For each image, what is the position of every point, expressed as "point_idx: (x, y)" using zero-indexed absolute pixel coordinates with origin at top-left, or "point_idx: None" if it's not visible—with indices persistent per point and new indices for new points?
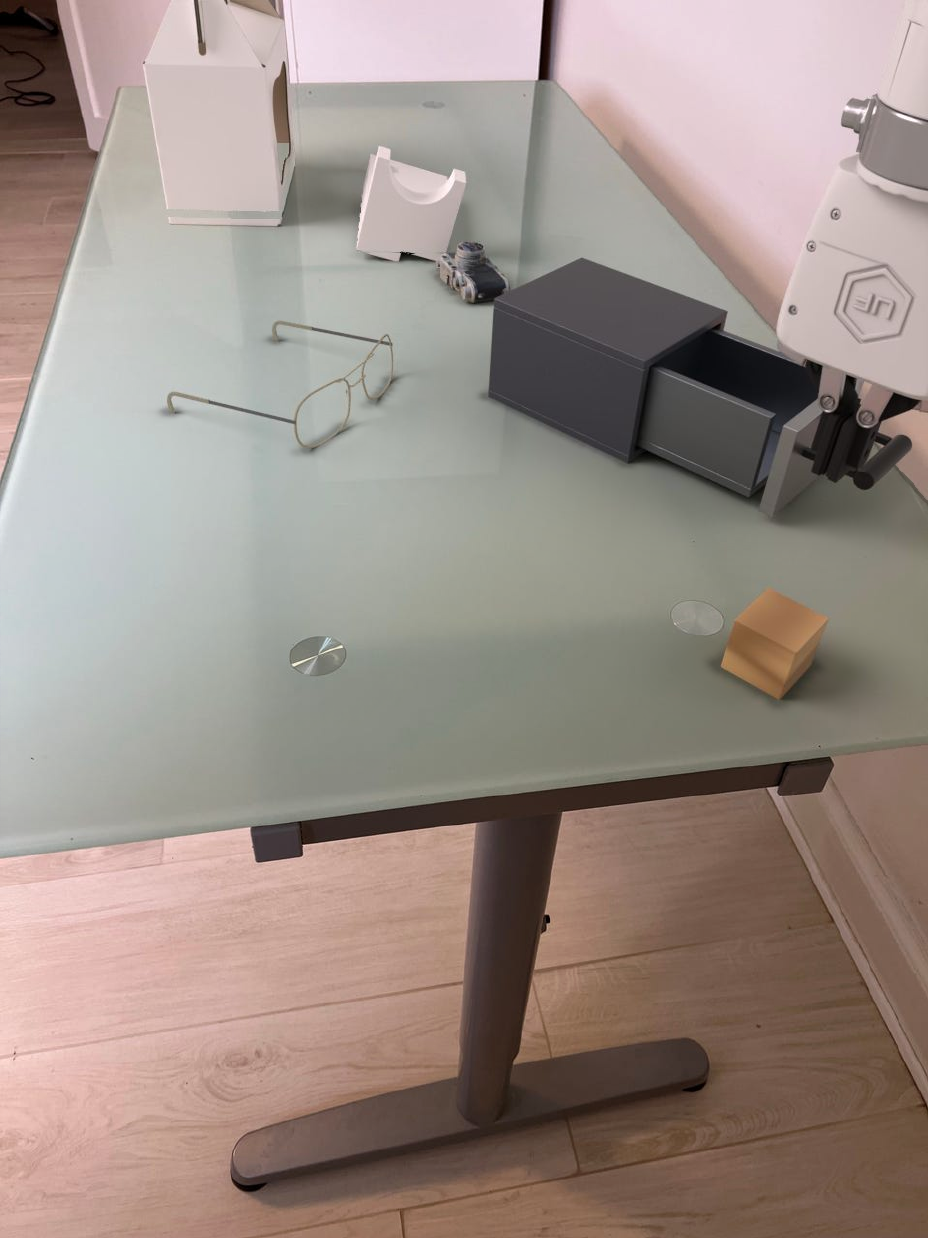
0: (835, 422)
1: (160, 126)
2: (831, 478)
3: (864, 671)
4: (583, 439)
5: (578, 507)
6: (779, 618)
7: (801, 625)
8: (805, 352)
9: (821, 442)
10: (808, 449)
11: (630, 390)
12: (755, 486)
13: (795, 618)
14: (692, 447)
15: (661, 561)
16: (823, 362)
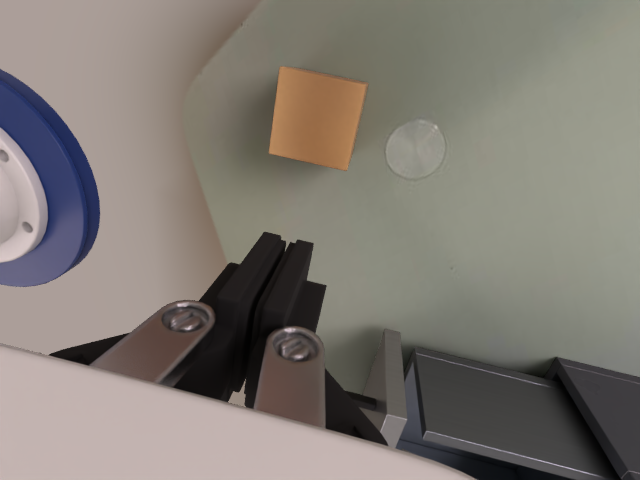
0: (266, 301)
1: None
2: (272, 234)
3: (241, 162)
4: (622, 375)
5: (600, 265)
6: (317, 118)
7: (290, 121)
8: (395, 467)
9: (298, 272)
10: (371, 407)
11: (621, 439)
12: (412, 360)
13: (300, 130)
14: (498, 386)
15: (477, 221)
16: (297, 425)
